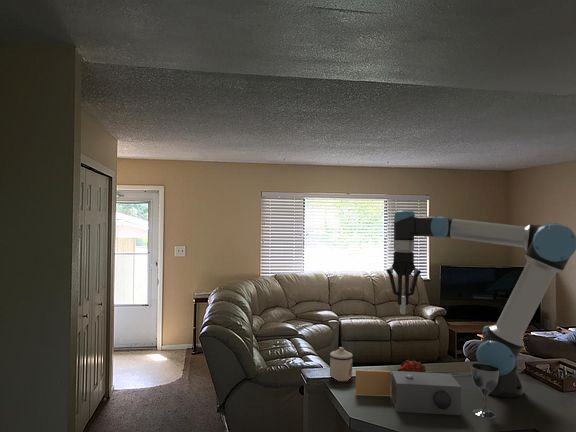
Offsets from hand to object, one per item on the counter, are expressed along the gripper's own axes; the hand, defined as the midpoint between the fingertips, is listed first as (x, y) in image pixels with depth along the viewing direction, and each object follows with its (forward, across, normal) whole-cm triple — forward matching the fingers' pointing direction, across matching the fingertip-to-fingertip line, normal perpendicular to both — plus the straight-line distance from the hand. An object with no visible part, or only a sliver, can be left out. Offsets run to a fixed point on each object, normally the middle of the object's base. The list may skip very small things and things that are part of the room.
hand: (402, 313), depth 166 cm
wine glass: (+27, -22, +24) cm, 42 cm away
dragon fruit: (+27, -4, -3) cm, 27 cm away
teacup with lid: (+27, +23, -4) cm, 35 cm away
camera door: (+26, +12, +13) cm, 32 cm away
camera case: (+26, -4, +20) cm, 33 cm away
